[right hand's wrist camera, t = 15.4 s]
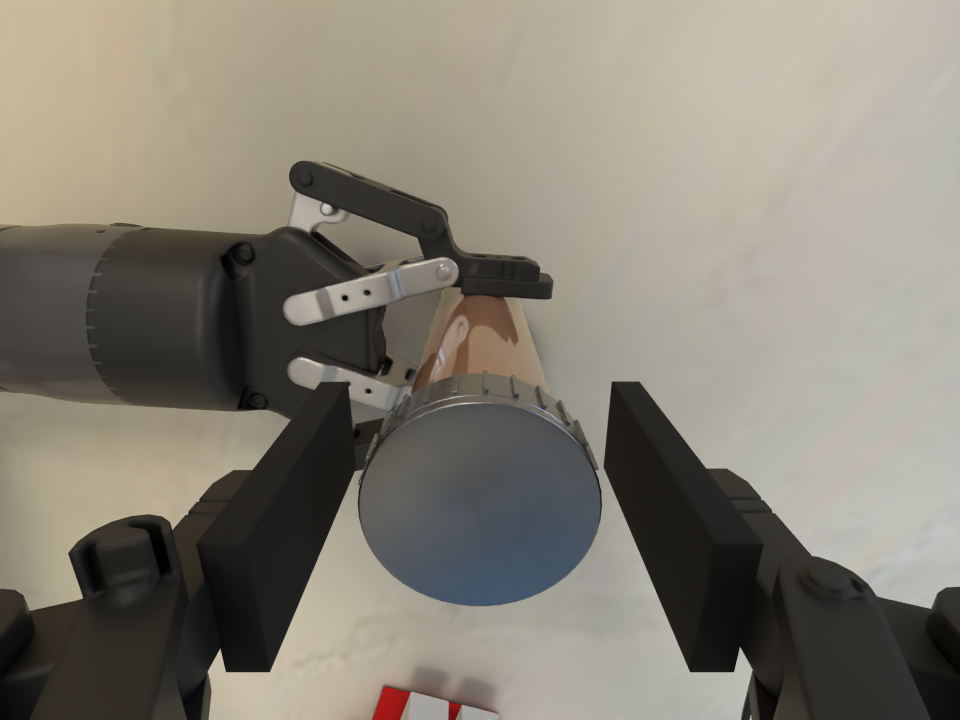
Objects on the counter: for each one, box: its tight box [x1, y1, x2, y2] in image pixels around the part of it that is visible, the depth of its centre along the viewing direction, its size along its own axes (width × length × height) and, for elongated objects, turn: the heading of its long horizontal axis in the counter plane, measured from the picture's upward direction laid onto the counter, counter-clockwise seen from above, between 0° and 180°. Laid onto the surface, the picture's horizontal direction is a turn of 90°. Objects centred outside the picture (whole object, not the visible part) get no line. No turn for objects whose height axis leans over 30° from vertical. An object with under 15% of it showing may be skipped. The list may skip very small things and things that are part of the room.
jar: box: [409, 287, 551, 396], centre depth 20 cm, size 4×4×18 cm
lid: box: [358, 370, 602, 606], centre depth 11 cm, size 5×5×2 cm
